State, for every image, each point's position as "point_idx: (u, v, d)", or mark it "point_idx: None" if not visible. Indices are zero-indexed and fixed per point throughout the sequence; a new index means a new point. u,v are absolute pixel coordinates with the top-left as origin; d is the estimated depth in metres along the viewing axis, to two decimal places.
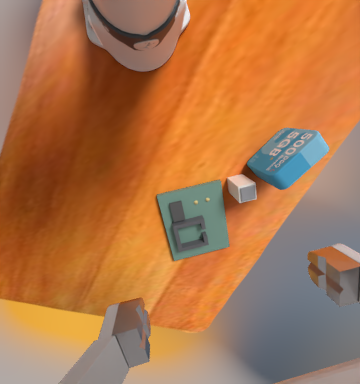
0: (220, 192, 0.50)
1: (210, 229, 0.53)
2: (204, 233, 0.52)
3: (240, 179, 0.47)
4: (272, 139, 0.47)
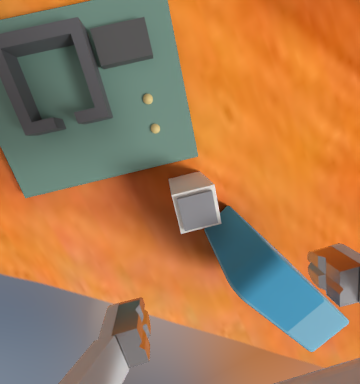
0: (171, 157, 0.23)
1: (73, 142, 0.21)
2: (60, 124, 0.20)
3: None
4: (267, 241, 0.27)
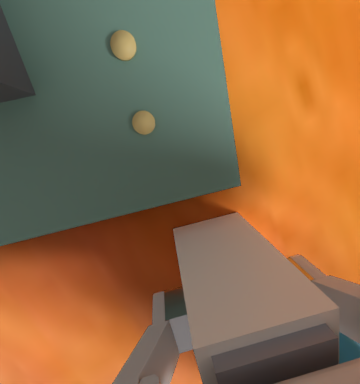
0: (180, 190, 0.10)
1: None
2: None
3: None
4: None
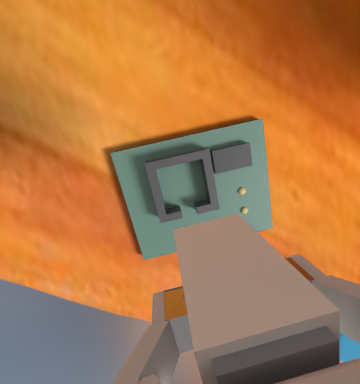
0: None
1: (184, 221, 0.28)
2: None
3: None
4: None
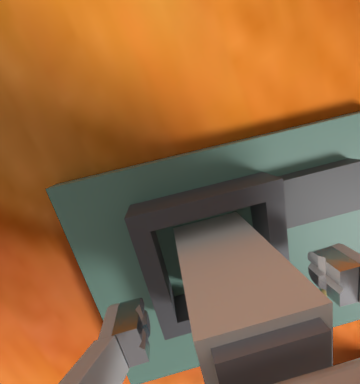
0: (339, 320, 0.16)
1: None
2: None
3: None
4: None
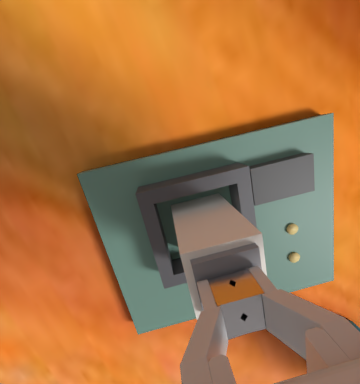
0: (304, 283, 0.20)
1: None
2: None
3: None
4: None
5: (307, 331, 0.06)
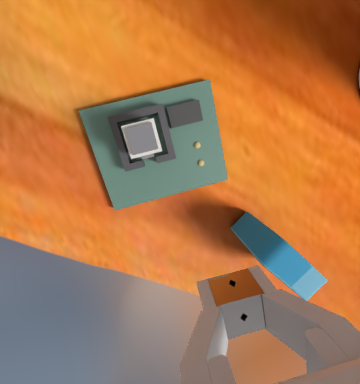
0: (210, 181, 0.34)
1: (148, 173, 0.32)
2: (144, 163, 0.31)
3: None
4: None
5: (307, 331, 0.06)
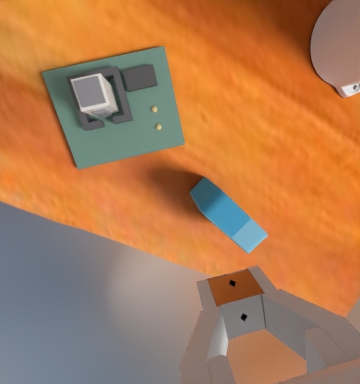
0: (168, 145, 0.37)
1: (108, 135, 0.35)
2: (103, 124, 0.34)
3: (111, 96, 0.31)
4: None
5: (307, 331, 0.06)
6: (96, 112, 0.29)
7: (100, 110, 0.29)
